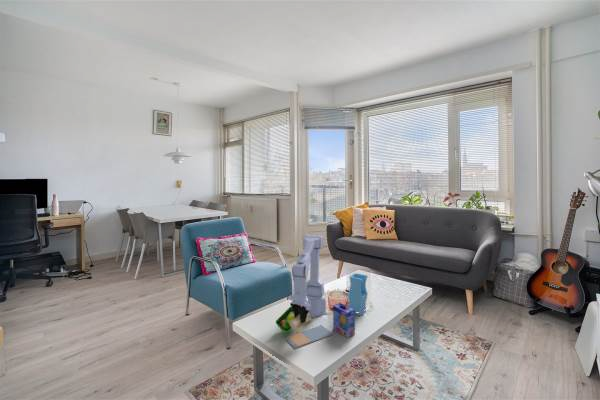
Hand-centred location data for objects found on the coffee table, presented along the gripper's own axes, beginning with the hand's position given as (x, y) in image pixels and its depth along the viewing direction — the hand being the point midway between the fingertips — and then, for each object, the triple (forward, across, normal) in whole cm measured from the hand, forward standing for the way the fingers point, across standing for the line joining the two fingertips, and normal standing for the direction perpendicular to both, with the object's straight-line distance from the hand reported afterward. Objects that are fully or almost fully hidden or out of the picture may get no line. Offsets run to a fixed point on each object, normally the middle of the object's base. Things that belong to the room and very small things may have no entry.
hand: (300, 320), depth 132 cm
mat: (+10, -1, +6) cm, 12 cm away
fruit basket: (+7, -12, +1) cm, 14 cm away
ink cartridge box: (+10, +4, +22) cm, 25 cm away
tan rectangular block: (+2, 0, +1) cm, 3 cm away
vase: (+9, -8, +43) cm, 45 cm away
